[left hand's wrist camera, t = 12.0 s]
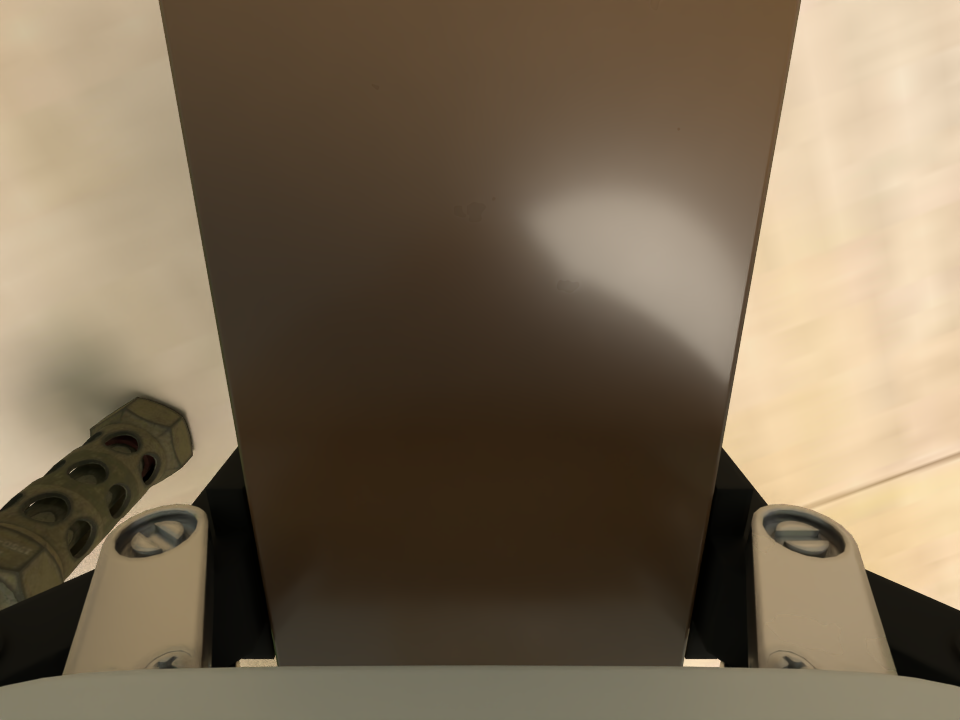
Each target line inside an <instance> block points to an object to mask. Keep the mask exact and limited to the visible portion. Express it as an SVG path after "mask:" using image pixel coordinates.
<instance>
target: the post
mask: <svg viewBox="0 0 960 720" xmlns="http://www.w3.org/2000/svg"><path fill="white" fill-rule="evenodd" d="M800 4H801V0H159V5H160V10H161V16H162V22H163V27H164V33H165V38H166V44H167V50H168V55H169V61H170V66H171V72H172V78H173V83H174V89H175V94H176V100H177V106H178V111H179V117H180V122H181V128H182V134H183V139H184V145H185V150H186V156H187V162H188V167H189V173H190V178H191V184H192V190H193V195H194V201H195V206H196V212H197V218H198V223H199V229H200V234H201V240H202V246H203V251H204V257H205V262H206V268H207V274H208V279H209V285H210V290H211V296H212V302H213V307H214V313H215V318H216V324H217V330H218V335H219V341H220V346H221V352H222V358H223V363H224V369H225V374H226V380H227V386H228V391H229V397H230V402H231V408H232V414H233V419H234V425H235V430H236V436H237V442H238V447H239V453H240V458H241V464H242V470H243V475H244V481H245V486H246V492H247V498H248V503H249V509H250V514H251V520H252V526H253V531H254V537H255V542H256V548H257V554H258V559H259V565H260V570H261V576H262V582H263V587H264V593H265V598H266V604H267V610H268V615H269V621H270V626H271V632H272V638H273V643H274V649H275V654H276V660H277V666H278V667H282V666H463V665H497V666H678V667H683V662H684V657H685V651H686V645H687V640H688V634H689V628H690V623H691V617H692V612H693V606H694V600H695V595H696V589H697V583H698V578H699V572H700V567H701V561H702V555H703V550H704V544H705V538H706V533H707V527H708V522H709V516H710V510H711V505H712V499H713V493H714V488H715V482H716V476H717V471H718V465H719V460H720V454H721V448H722V443H723V437H724V431H725V426H726V420H727V415H728V409H729V403H730V398H731V392H732V386H733V381H734V375H735V369H736V364H737V358H738V353H739V347H740V341H741V336H742V330H743V324H744V319H745V313H746V308H747V302H748V296H749V291H750V285H751V279H752V274H753V268H754V263H755V257H756V251H757V246H758V240H759V234H760V229H761V223H762V217H763V212H764V206H765V201H766V195H767V189H768V184H769V178H770V172H771V167H772V161H773V156H774V150H775V144H776V139H777V133H778V127H779V122H780V116H781V111H782V105H783V99H784V94H785V88H786V82H787V77H788V71H789V65H790V60H791V54H792V49H793V43H794V37H795V32H796V26H797V20H798V15H799V9H800Z"/></svg>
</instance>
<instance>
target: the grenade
mask: <svg viewBox="0 0 960 720" xmlns="http://www.w3.org/2000/svg"><path fill="white" fill-rule="evenodd" d="M90 436H91V437H90V438H89V439H88V440H87V441H86V442H85V443H84V444H83V445H82V446H81V447H79V448H77V449H75V450H73V451H72V452H71V453H70V454H68V455H67V456H66V457H64V458H63V459H62V460H61V461H59V462H58V463H57V464H55V465H54V466H53V467H52V468H51V469H50V470H49V471H48V472H47V473H46V474H45V475H44V476H43V477H42V478H39V479H37V480H36V481H34V482H32V483H31V484H30V485H28V486H27V487H26V488H25V489H23V490H22V491H21V492H19V493H18V494H17V495H16V496H14V497H13V498H12V499H11V500H10V501H9V502H8V503H7V504H6V505H5V506H4V507H3V508H2V509H1V510H0V610H3V609H5V608H7V607H9V606H12V605H14V604H16V603H19V602H21V601H23V600H25V599H28V598H30V597H32V596H35V595H37V594H39V593H41V592H44V591H46V590H48V589H51V588H53V587H55V586H57V585H60V584H62V583H64V580H65V579H66V578H67V577H68V576H69V575H70V574H71V573H72V572H73V571H74V569H75V568H76V567H77V566H78V565H79V563H80V562H81V561H82V560H83V559H84V558H85V557H86V556H87V555H89V554H90V553H91V551H92V550H93V549H94V548H95V547H96V546H97V545H98V544H99V543H100V542H101V541H102V540H103V539H104V537H105V536H106V535H107V534H108V533H109V532H110V531H111V530H112V529H113V527H114V526H115V525H116V524H117V522H118V521H119V520H120V519H121V518H123V517H124V516H125V515H126V514H127V513H128V512H129V511H130V510H131V508H132V507H133V506H134V505H135V504H136V503H137V502H138V501H139V500H140V499H141V498H142V496H143V495H144V494H145V493H146V492H147V490H148V489H149V488H150V487H151V486H153V485H155V484H157V483H159V482H160V481H162V480H164V479H165V478H167V477H169V476H170V475H172V474H173V473H175V472H176V471H178V470H179V469H181V468H182V467H183V466H184V465H185V464H186V462H187V461H188V460H189V459H190V458H191V457H192V456H193V452H192V443H191V438H190V433H189V430H188V427H187V424H186V422H185V420H184V418H183V416H181V415H180V414H178V413H177V412H175V411H174V410H172V409H170V408H168V407H166V406H164V405H162V404H159V403H156V402H154V401H151V400H147V399H144V398H140V397H137V398H135V399H133V400H132V401H130V402H129V403H127V404H125V405H124V406H122V407H121V408H119V409H118V410H116V411H115V412H113V413H112V414H110V415H109V416H107V417H106V418H104V419H103V420H102V421H100V422H99V423H98V424H96V425H95V426H94V427H92V428H91V429H90ZM75 468H76V469H75ZM73 469H75V470H73ZM72 470H73V471H72ZM71 471H72V472H71ZM70 472H71V473H70ZM69 473H70V474H69ZM34 502H35V503H34ZM32 503H34V504H32ZM31 504H32V505H31ZM30 505H31V506H30Z"/></svg>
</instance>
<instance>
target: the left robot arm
mask: <svg viewBox="0 0 960 720" xmlns="http://www.w3.org/2000/svg"><path fill="white" fill-rule="evenodd" d="M275 655H276V654H275V649H274V643H273V638H272V632H271V626H270V621H269V615H268V610H267V604H266V598H265V593H264V587H263V582H262V576H261V570H260V565H259V559H258V554H257V548H256V542H255V537H254V531H253V526H252V520H251V514H250V509H249V503H248V498H247V492H246V486H245V481H244V475H243V470H242V464H241V458H240V453H239V447H237V448H236V450H235V451H234V452H233V453H232V455H231V456H230V457H229V458H228V460H227V461H226V462H225V463H224V465H223V466H222V467H221V468H220V470H219V471H218V472H217V474H216V475H215V476H214V477H213V479H212V480H211V481H210V482H209V484H208V485H207V486H206V487H205V489H204V490H203V491H202V492H201V494H200V495H199V496H198V497H197V499H196V500H195V501H194V502H193V504H192V505H185V504H174V505H167V506H161V507H157V508H154V509H150V510H147V511H144V512H142V513H140V514H138V515H135V516H133V517H131V518H129V519H128V520H126V521H125V522H123V523H122V524H120V525H118V526H117V527H116V528H115V529H114V530H113V531H112V532H111V533H110V534H109V535H108V536H107V538H106V540H105V542H104V543H103V545H102V549H101V552H100V555H99V558H98V561H97V565H96V568H95V569H94V570H92V571H89V572H87V573H85V574H83V575H80V576H78V577H76V578H73V579H71V580H69V581H67V582H64V583H62V584H60V585H57V586H55V587H53V588H51V589H48V590H46V591H44V592H41V593H39V594H37V595H35V596H32V597H30V598H28V599H25V600H23V601H21V602H19V603H16V604H14V605H12V606H9V607H7V608H5V609H3V610H0V720H960V611H959V610H957V609H955V608H953V607H950V606H948V605H946V604H943V603H941V602H939V601H937V600H934V599H932V598H930V597H927V596H925V595H923V594H920V593H918V592H916V591H914V590H911V589H909V588H907V587H904V586H902V585H900V584H898V583H895V582H893V581H891V580H888V579H886V578H884V577H882V576H879V575H877V574H875V573H872V572H870V571H868V570H866V569H865V568H864V565H863V561H862V558H861V555H860V552H859V549H858V545H857V543H856V542H855V540H854V538H853V536H852V535H851V534H850V533H849V532H848V531H847V530H846V529H845V528H844V527H843V526H842V525H840V524H838V523H837V522H835V521H834V520H832V519H831V518H829V517H827V516H825V515H822V514H820V513H818V512H816V511H813V510H810V509H806V508H803V507H799V506H793V505H786V504H775V505H768V504H767V503H766V502H765V501H764V499H763V498H762V497H761V496H760V494H759V493H758V492H757V491H756V489H755V488H754V487H753V486H752V484H751V483H750V482H749V481H748V479H747V478H746V477H745V476H744V474H743V473H742V472H741V471H740V469H739V468H738V467H737V466H736V464H735V463H734V462H733V460H732V459H731V458H730V457H729V455H728V454H727V453H726V452H725V450H724V449H723V448H721V454H720V460H719V465H718V471H717V476H716V482H715V488H714V493H713V499H712V505H711V510H710V516H709V522H708V527H707V533H706V538H705V544H704V550H703V555H702V561H701V567H700V572H699V578H698V583H697V589H696V595H695V600H694V606H693V612H692V617H691V623H690V628H689V634H688V640H687V645H686V651H685V659H717V658H718V659H719V660H721V663H720V667H678V666H497V665H463V666H282V667H240V663H239V660H240V659H274V657H275Z"/></svg>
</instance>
